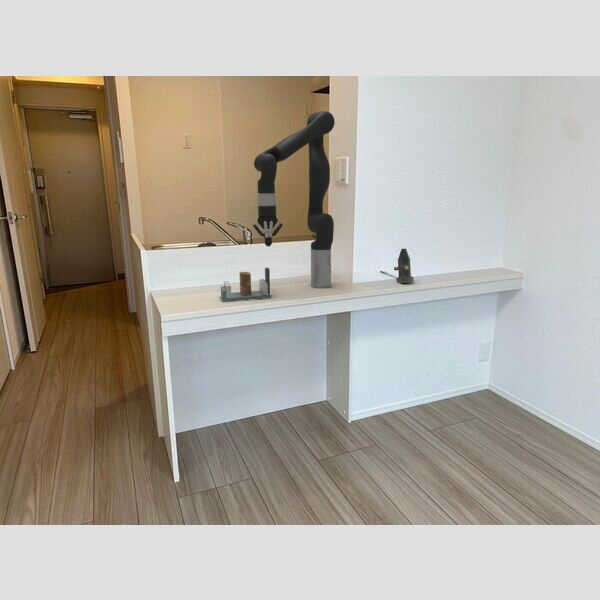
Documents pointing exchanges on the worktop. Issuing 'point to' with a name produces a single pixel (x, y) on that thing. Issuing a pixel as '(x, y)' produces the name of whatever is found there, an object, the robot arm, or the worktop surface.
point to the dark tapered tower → (404, 268)
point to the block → (245, 283)
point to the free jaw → (265, 283)
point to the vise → (239, 294)
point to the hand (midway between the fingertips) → (268, 246)
